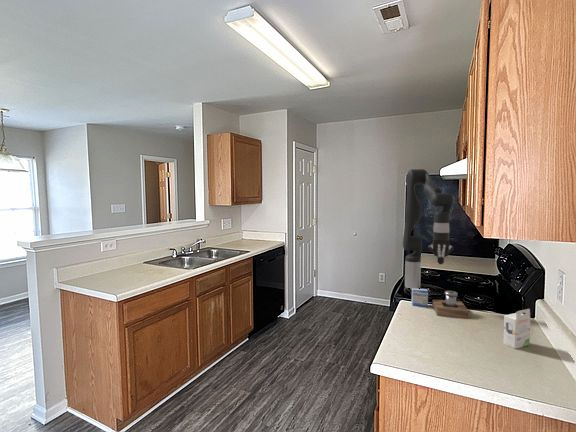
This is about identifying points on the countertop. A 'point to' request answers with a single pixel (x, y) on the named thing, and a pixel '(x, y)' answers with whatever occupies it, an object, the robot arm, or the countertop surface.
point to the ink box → (517, 329)
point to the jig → (450, 309)
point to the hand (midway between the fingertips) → (440, 264)
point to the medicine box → (419, 297)
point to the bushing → (450, 298)
